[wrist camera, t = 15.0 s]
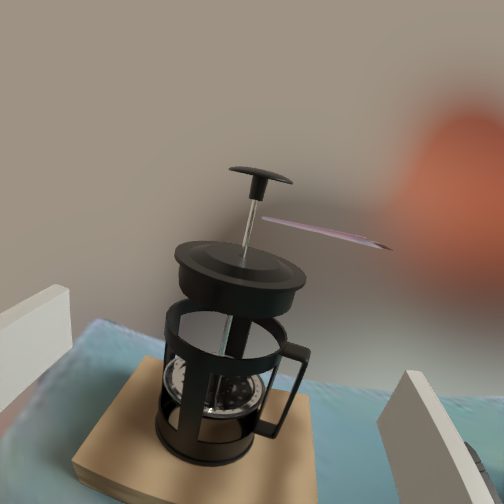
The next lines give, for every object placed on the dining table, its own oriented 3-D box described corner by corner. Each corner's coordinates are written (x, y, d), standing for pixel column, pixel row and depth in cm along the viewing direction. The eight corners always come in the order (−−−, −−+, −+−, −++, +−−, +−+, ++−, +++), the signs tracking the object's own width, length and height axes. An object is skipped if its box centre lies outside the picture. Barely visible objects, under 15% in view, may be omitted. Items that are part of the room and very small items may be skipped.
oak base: (298, 417, 34) (308, 394, 33) (302, 539, 16) (319, 524, 15) (145, 379, 34) (146, 354, 33) (79, 482, 17) (71, 460, 16)
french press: (129, 432, 21) (150, 147, 16) (178, 382, 30) (216, 161, 25) (254, 489, 19) (367, 194, 13) (280, 422, 27) (357, 195, 22)
